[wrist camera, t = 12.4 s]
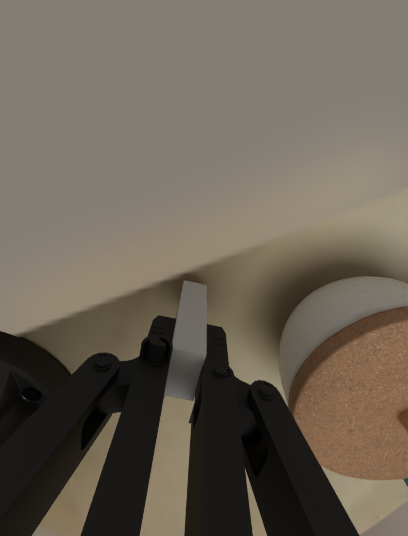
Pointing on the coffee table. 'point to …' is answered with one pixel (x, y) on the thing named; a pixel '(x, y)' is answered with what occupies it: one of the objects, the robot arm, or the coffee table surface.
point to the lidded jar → (351, 375)
